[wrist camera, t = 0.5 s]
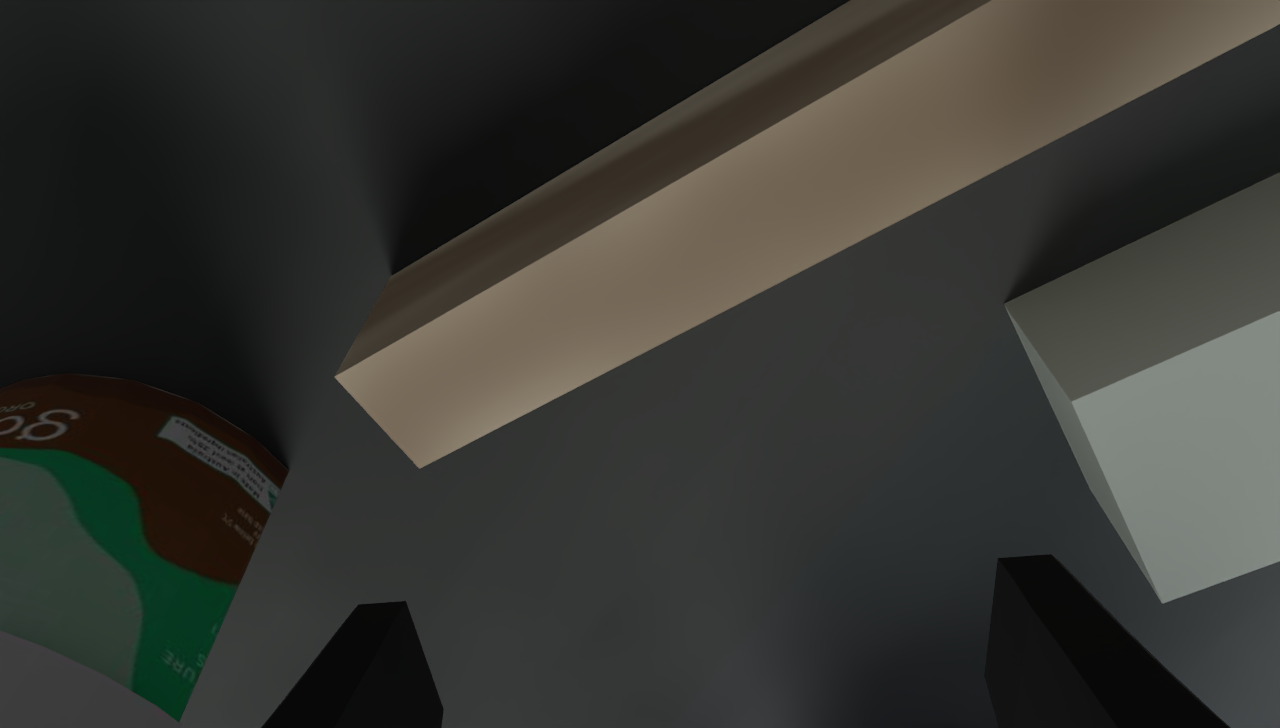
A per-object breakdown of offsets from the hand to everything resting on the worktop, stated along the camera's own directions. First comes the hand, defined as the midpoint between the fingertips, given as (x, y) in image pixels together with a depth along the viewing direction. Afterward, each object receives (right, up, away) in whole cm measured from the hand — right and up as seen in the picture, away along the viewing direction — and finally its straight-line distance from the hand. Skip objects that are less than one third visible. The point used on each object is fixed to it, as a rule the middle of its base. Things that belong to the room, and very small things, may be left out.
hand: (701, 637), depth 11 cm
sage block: (+12, +4, +9) cm, 16 cm away
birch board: (+4, +9, +6) cm, 11 cm away
